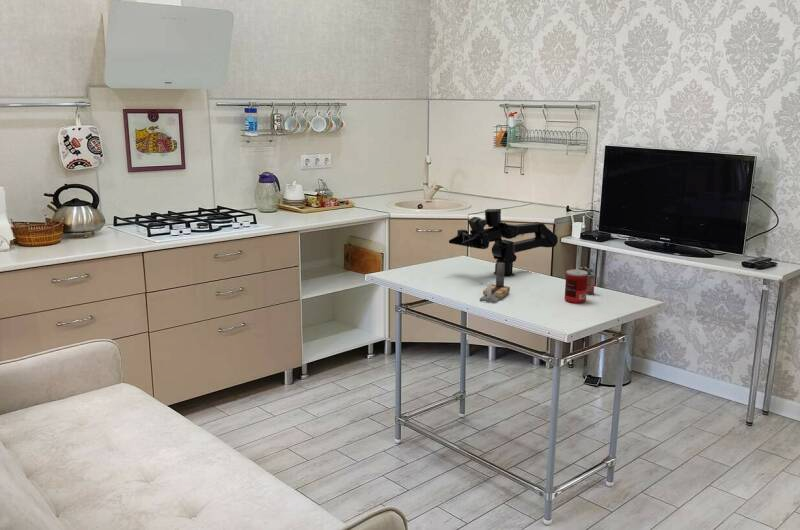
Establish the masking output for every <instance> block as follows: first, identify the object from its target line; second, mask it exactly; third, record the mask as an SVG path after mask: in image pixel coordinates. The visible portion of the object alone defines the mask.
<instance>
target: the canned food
mask: <svg viewBox="0 0 800 530" xmlns="http://www.w3.org/2000/svg"><path fill="white" fill-rule="evenodd" d="M588 273H589V272H586V271H584V270H579V269H569V270H568V269H567V270H566V273H565V283H564V284H565V285H564V286H565V288H564V301H565V302H567V303H570V304H577V305H578V304H579V305H580V304H584V303H585V302H586V300H587V295H586V293H587V280H588Z"/></svg>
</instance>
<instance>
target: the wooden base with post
mask: <svg viewBox="0 0 800 530" xmlns="http://www.w3.org/2000/svg"><path fill="white" fill-rule="evenodd" d="M504 270H505V263H501V262H499V263H497V270H496V274H495V284H492V290H491V294H492V293H493V292H495V291H496V292H495V296H496V297H502V296H503V295H505V294H506V293H507V292H509V293H510V291H511V286H506V285H504V284H505V276H504ZM484 295H487V287H486V288H484V289H483V290H482V296H484Z"/></svg>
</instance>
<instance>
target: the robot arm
mask: <svg viewBox="0 0 800 530" xmlns="http://www.w3.org/2000/svg"><path fill="white" fill-rule="evenodd" d="M501 213H502V210H501V208H487V209H485V210H484V219H482V218H480V217H477V216H473V217H471V218H470V219H469V220H467V223H468V224H469V227H470V228H471V230H469V231H468V230H467V229H458V230H457V235H455V236H454V237H452V238H451V239H449V240H448V244H453V245H458V246H462V247H468V248H474V249H478V250H486V249H488V248H489V247H490V243H492V242H494V243H493V244H492V247H491V253H492V256H493V259H494V260H495V265H494V266H495V267H494V272H493V274H495V275H496V270H497V263H499V262H501V263H505V270H504V277H509V275H512V276H514V275H515V273H513V270H514V269H513V267H514V264H513V263H514V262H516V261H517V255H516V253H520V252H524V251H529V250H532V249H536V248H554V247H556V246H557V245H558V242H559V240H558V235H556V234H554V232H553V231H551V229H549V228H548V226H546V224H544V223H543V222H537V221H535V222H531V223H530V222H529V223H521V224H512V223H511V224H510V223H506V222H502V218H501V217H502V216H501ZM486 226H488V228H485V227H486ZM469 232H470V233H469ZM525 234H527V235H529V234H534V237H531V238H530V237H529V238H526V239H522V240H518V241H512V239H515V238H517V237H518V236H520V235H525ZM503 238H504V239H503Z"/></svg>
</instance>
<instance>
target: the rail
mask: <svg viewBox="0 0 800 530" xmlns="http://www.w3.org/2000/svg"><path fill="white" fill-rule="evenodd" d="M486 283H487V286H486V288H487V295H482V297H480V298H479V302H482V301H486V302H485V303H489V302H492V303H491V304H497V303H498V302H499V301H500V299H501V300H502V299H503V298H505V297H506V296H508V295H509V294H510V291H509V292H507V293H506V294H505V295H503V296H502V297H496V296H495V292H496V291H495V292H493V293H492V294H491V290H492V283H493V282H492V281H491V282H490V281H489V282H486ZM507 294H508V295H507Z"/></svg>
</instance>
